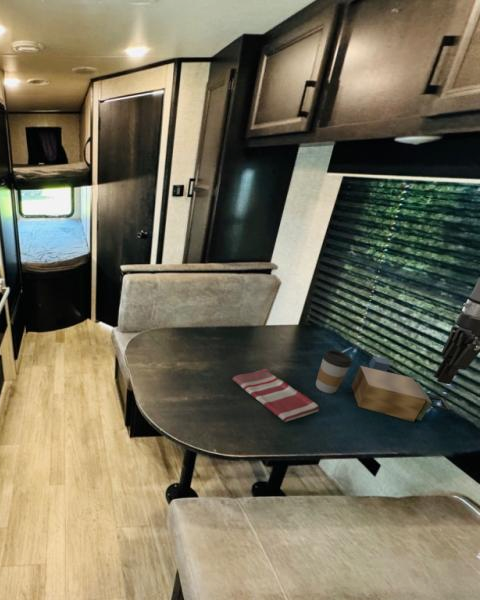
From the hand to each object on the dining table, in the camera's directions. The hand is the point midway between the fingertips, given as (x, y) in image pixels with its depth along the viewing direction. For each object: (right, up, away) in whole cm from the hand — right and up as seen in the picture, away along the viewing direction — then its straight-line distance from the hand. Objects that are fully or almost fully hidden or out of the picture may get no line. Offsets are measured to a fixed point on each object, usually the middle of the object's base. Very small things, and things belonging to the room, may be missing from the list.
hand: (441, 380), depth 102 cm
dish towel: (-46, -10, +15) cm, 49 cm away
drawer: (-5, -11, +8) cm, 15 cm away
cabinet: (-10, -11, +11) cm, 18 cm away
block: (+6, -3, +29) cm, 29 cm away
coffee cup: (-24, -8, +18) cm, 31 cm away
